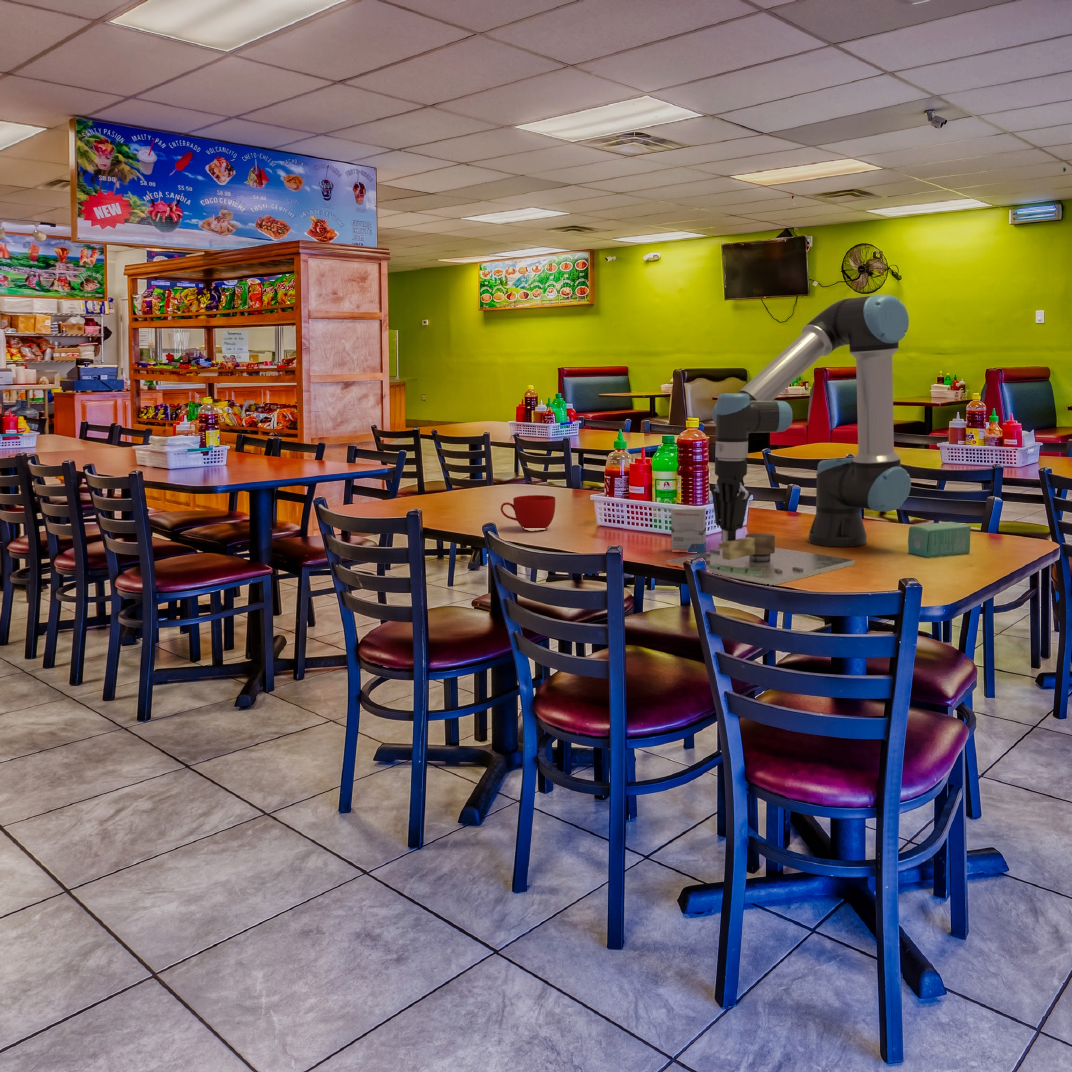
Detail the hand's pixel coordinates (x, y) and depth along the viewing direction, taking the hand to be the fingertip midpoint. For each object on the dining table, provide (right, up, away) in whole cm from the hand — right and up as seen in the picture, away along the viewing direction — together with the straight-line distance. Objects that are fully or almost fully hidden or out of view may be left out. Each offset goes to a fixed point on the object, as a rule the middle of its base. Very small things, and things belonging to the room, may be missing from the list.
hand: (728, 556), depth 229 cm
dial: (+4, 0, -1) cm, 4 cm away
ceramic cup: (-49, +6, +62) cm, 79 cm away
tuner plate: (+8, -2, +3) cm, 9 cm away
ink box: (-6, +1, +22) cm, 23 cm away
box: (+56, 0, +12) cm, 57 cm away
